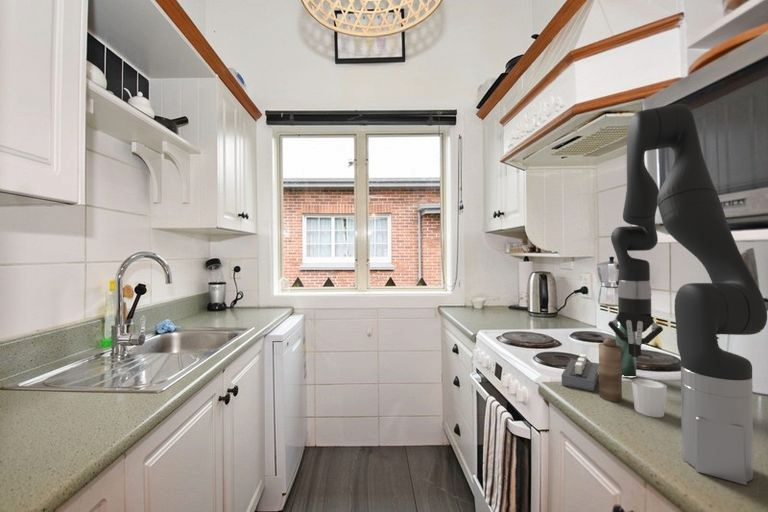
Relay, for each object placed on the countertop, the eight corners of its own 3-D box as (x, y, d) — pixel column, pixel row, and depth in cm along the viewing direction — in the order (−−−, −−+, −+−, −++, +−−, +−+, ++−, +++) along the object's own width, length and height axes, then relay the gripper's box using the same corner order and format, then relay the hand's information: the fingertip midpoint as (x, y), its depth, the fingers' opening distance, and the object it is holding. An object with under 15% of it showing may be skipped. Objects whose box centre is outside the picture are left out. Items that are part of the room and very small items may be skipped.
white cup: (674, 419, 77) (674, 389, 77) (640, 417, 79) (640, 387, 79) (656, 406, 84) (656, 378, 84) (626, 404, 85) (625, 377, 85)
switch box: (593, 391, 93) (593, 380, 93) (561, 385, 98) (561, 374, 98) (599, 372, 108) (598, 363, 108) (571, 367, 112) (570, 358, 112)
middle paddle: (583, 369, 101) (583, 361, 101) (577, 368, 102) (577, 360, 102) (584, 366, 104) (584, 358, 104) (578, 365, 104) (578, 357, 104)
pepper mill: (621, 403, 86) (620, 341, 86) (598, 398, 89) (597, 338, 89) (622, 396, 90) (621, 337, 90) (600, 392, 93) (599, 335, 93)
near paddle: (581, 374, 97) (581, 365, 97) (575, 373, 98) (575, 364, 98) (582, 371, 100) (582, 362, 100) (576, 370, 101) (576, 361, 100)
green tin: (636, 379, 101) (635, 318, 101) (615, 376, 104) (614, 316, 104) (636, 374, 106) (635, 315, 105) (616, 371, 109) (615, 313, 109)
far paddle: (585, 365, 105) (585, 356, 105) (579, 364, 106) (579, 355, 106) (586, 362, 108) (586, 354, 108) (580, 361, 108) (580, 353, 108)
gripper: (605, 296, 96) (606, 356, 96) (665, 299, 88) (666, 364, 88) (607, 293, 102) (608, 349, 102) (663, 296, 94) (664, 357, 94)
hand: (634, 356), depth 95 cm, fingers closed
